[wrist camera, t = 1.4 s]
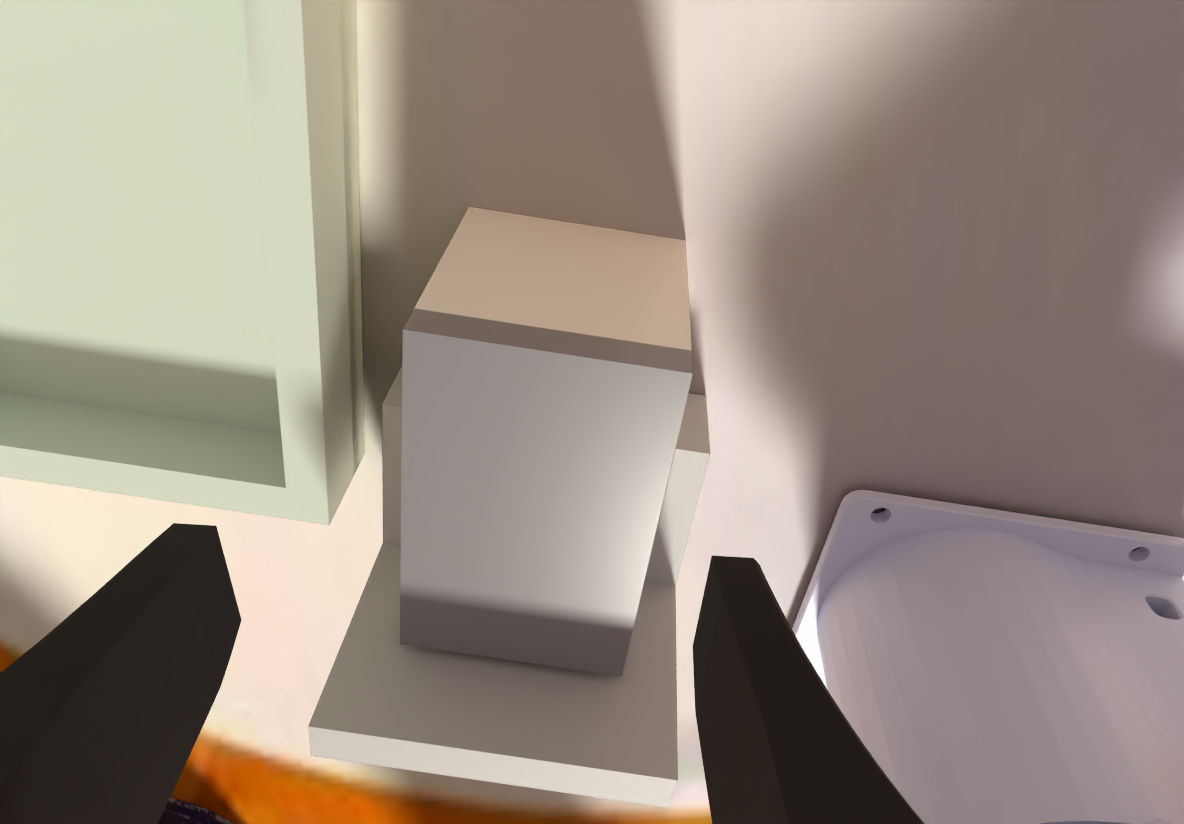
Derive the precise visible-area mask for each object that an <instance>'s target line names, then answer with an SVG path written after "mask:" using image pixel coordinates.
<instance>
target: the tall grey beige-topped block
mask: <svg viewBox="0 0 1184 824" xmlns="http://www.w3.org/2000/svg"><path fill="white" fill-rule="evenodd" d="M692 375H693V366H692V347H691V328H690V309H689V290H688V271H687V252H686V240H680V239H674V238H667V237H661V236H654V235H648V234H641V233H635V232H628V231H622V230H615V229H609V228H603V227H596V226H590V225H583V224H577V223H570V222H564V221H557V220H551V219H544V218H538V217H531V216H525V215H518V214H512V213H506V212H499V211H493V210H486V209H480V208H473V207H469V208H468V210H467V212H466V213H465V215H464V217H463V219H462V221H461V223H460V224H459V226H458V228H457V230H456V232H455V234H454V236H453V237H452V239H451V241H450V243H449V245H448V247H447V249H446V250H445V252H444V254H443V256H442V258H441V260H440V261H439V263H438V265H437V267H436V269H435V271H434V273H433V274H432V276H431V278H430V280H429V282H428V284H427V286H426V287H425V289H424V291H423V293H422V295H421V297H420V298H419V300H418V302H417V304H416V306H415V308H414V310H413V311H412V313H411V315H410V317H409V319H408V321H407V323H406V324H405V326H404V328H403V348H402V454H401V560H400V644H403V645H410V646H417V647H424V648H431V649H437V650H444V651H451V652H458V653H465V654H471V655H478V656H485V657H492V658H499V659H506V660H512V661H519V662H526V663H533V664H540V665H547V666H553V667H560V668H567V669H574V670H581V671H588V672H594V673H601V674H608V675H615V676H622V674H623V670H624V666H625V661H626V657H627V653H628V649H629V644H630V640H631V636H632V632H633V627H634V623H635V619H636V614H637V610H638V606H639V602H640V597H641V593H642V589H643V585H644V580H645V576H646V572H647V567H648V563H649V559H650V555H651V550H652V546H653V542H654V538H655V533H656V529H657V525H658V520H659V516H660V512H661V508H662V503H663V499H664V495H665V491H666V486H667V482H668V478H669V474H670V469H671V465H672V461H673V456H674V452H675V448H676V444H677V439H678V435H679V431H680V427H681V422H682V418H683V414H684V409H685V405H686V401H687V397H688V392H689V388H690V384H691V380H692Z"/></svg>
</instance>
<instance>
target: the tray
mask: <svg viewBox="0 0 1184 824" xmlns="http://www.w3.org/2000/svg"><path fill="white" fill-rule="evenodd" d="M364 454H365V441H364V392H363V344H362V295H361V246H360V198H359V149H358V100H357V51H356V3H355V0H0V476H2V477H9V478H15V479H22V480H29V481H35V482H42V483H49V484H55V485H62V486H69V487H76V488H82V489H89V490H96V491H102V492H109V493H116V494H122V495H129V496H136V497H143V498H149V499H156V500H163V501H169V502H176V503H183V504H189V505H196V506H203V507H210V508H216V509H223V510H230V511H236V512H243V513H250V514H256V515H263V516H270V517H277V518H283V519H290V520H297V521H303V522H310V523H317V524H323V525H329V524H330V522H331V520H332V518H333V516H334V514H335V512H336V510H337V508H338V506H339V504H340V502H341V500H342V498H343V496H344V494H345V492H346V490H347V488H348V486H349V484H350V482H351V480H352V478H353V476H354V474H355V472H356V470H357V468H358V466H359V464H360V462H361V460H362V458H363V456H364Z"/></svg>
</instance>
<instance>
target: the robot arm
mask: <svg viewBox="0 0 1184 824" xmlns="http://www.w3.org/2000/svg"><path fill="white" fill-rule="evenodd" d="M878 508H886V510H885V511H883V512H881V513H872V512H873V511H874V510H875V509H878ZM1138 547H1140V548H1139V549H1137V550H1135V551H1132V550H1133V549H1135V548H1138ZM1183 575H1184V539H1183V538H1180V537H1174V536H1167V535H1161V534H1154V533H1147V532H1141V531H1134V530H1128V529H1121V528H1114V527H1108V526H1101V525H1094V524H1088V523H1081V522H1075V521H1068V520H1061V519H1055V518H1048V517H1042V516H1035V515H1028V514H1022V513H1015V512H1008V511H1002V510H995V509H989V508H982V507H975V506H969V505H962V504H955V503H949V502H942V501H936V500H929V499H922V498H916V497H909V496H903V495H896V494H889V493H883V492H876V491H869V490H856V491H853V492H850V493H849V494H847V495H846V496H845V497H844V498H843V500H842V501H841V504H840V506H839V509H838V512H837V514H836V517H835V519H834V522H833V524H832V527H831V530H830V532H829V535H828V537H827V540H826V543H825V545H824V548H823V550H822V553H821V556H820V558H819V561H818V563H817V566H816V568H815V571H814V574H813V576H812V579H811V581H810V584H809V587H808V589H807V592H806V594H805V597H804V599H803V602H802V605H801V607H800V610H799V612H798V615H797V618H796V620H795V623H794V625H793V628H791V627H790V625H789V623H788V621H787V619H786V617H785V616H784V614H783V612H782V610H781V608H780V606H779V604H778V602H777V600H776V598H775V596H774V594H773V592H772V590H771V588H770V586H769V584H768V582H767V580H766V578H765V576H764V574H763V572H762V569H761V567H760V565H759V564H758V563H757V561H756V560H755V559H754V558H742V557H725V556H712V558H711V563H710V568H709V572H708V577H707V582H706V586H705V591H704V596H703V601H702V605H701V610H700V615H699V620H698V624H697V629H696V634H695V639H694V643H693V662H694V688H695V709H696V718H697V725H698V732H699V739H700V745H701V752H702V759H703V766H704V772H705V779H706V785H707V792H708V798H709V804H710V811H711V817H712V824H1184V581H1183V580H1182V576H1183ZM240 623H241V617H240V613H239V610H238V606H237V602H236V598H235V595H234V591H233V587H232V583H231V580H230V576H229V572H228V569H227V565H226V561H225V557H224V554H223V550H222V546H221V542H220V539H219V535H218V531H217V527H216V526H209V525H192V524H176V523H174V524H172V525H171V526H170V527H169V528H168V529H167V530H166V531H164V532H163V533H162V534H161V535H160V536H159V537H157V538H156V539H155V540H154V541H153V542H152V543H151V544H149V545H148V546H147V547H146V548H145V549H144V550H143V551H142V552H141V553H139V554H138V555H137V556H136V557H135V558H134V559H133V560H132V561H131V562H129V563H128V564H127V565H126V566H125V567H124V568H123V569H122V570H121V571H119V572H118V573H117V574H116V575H115V576H114V577H113V578H112V579H111V580H109V581H108V582H107V583H106V584H105V585H104V586H103V587H102V588H100V589H99V590H98V591H97V592H96V593H95V594H94V595H93V596H92V597H90V598H89V599H88V600H87V601H86V602H85V603H83V604H82V605H81V606H80V607H79V608H78V609H77V610H75V611H74V612H73V613H72V614H71V615H70V616H68V617H67V618H66V619H65V620H64V621H63V622H61V623H60V624H59V625H58V626H57V627H56V628H55V629H53V630H52V631H51V632H50V633H49V634H48V635H46V636H45V637H44V638H43V639H42V640H40V641H39V642H38V643H37V644H36V645H35V646H33V647H32V648H31V649H30V650H28V651H27V652H26V653H25V654H23V655H22V656H21V657H20V658H18V659H17V660H16V661H15V662H13V663H12V664H11V665H10V666H8V667H7V668H6V669H5V670H3V671H2V672H1V673H0V824H158V822H159V820H160V818H161V816H162V813H163V811H164V809H165V807H166V805H167V803H168V800H169V798H170V796H171V794H172V792H173V790H174V787H175V785H176V783H177V781H178V779H179V777H180V774H181V772H182V770H183V768H184V766H185V764H186V762H187V759H188V757H189V755H190V753H191V751H192V749H193V746H194V744H195V742H196V740H197V738H198V736H199V733H200V731H201V729H202V727H203V724H204V722H205V720H206V718H207V716H208V713H209V711H210V709H211V707H212V705H213V702H214V700H215V698H216V696H217V693H218V691H219V689H220V686H221V684H222V681H223V677H224V674H225V671H226V668H227V665H228V662H229V659H230V656H231V653H232V650H233V646H234V643H235V639H236V636H237V633H238V629H239V626H240Z"/></svg>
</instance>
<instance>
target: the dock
mask: <svg viewBox="0 0 1184 824" xmlns="http://www.w3.org/2000/svg"><path fill="white" fill-rule="evenodd" d="M382 453H383V544H382V546H381V549H380V551H379V554H378V556H377V559H376V561H375V564H374V566H373V569H372V571H371V573H370V576H369V578H368V581H367V583H366V586H365V588H364V591H363V593H362V596H361V598H360V601H359V603H358V605H357V608H356V610H355V613H354V615H353V618H352V620H351V623H350V625H349V628H348V630H347V633H346V635H345V637H344V640H343V642H342V645H341V647H340V650H339V652H338V655H337V657H336V660H335V662H334V665H333V667H332V669H331V672H330V674H329V677H328V679H327V682H326V684H325V687H324V689H323V692H322V694H321V697H320V699H319V701H318V704H317V706H316V709H315V711H314V714H313V716H312V719H311V721H310V724H309V726H308V729H309V740H310V752H311V756H315V757H322V758H329V759H336V760H343V761H350V762H357V763H363V764H370V765H377V766H384V767H391V768H398V769H405V770H412V771H418V772H425V773H432V774H439V775H446V776H453V777H460V778H467V779H473V780H480V781H487V782H494V783H501V784H508V785H515V786H521V787H528V788H535V789H542V790H549V791H556V792H563V793H570V794H576V795H583V796H590V797H597V798H604V799H611V800H618V801H625V802H631V803H638V804H645V805H652V806H659V807H666V808H669V806H670V803H671V800H672V796H673V793H674V790H675V787H676V784H677V781H678V765H677V682H676V599H675V586H676V582H677V578H678V574H679V570H680V567H681V563H682V559H683V555H684V551H685V548H686V544H687V540H688V536H689V533H690V529H691V525H692V521H693V517H694V514H695V510H696V506H697V502H698V498H699V495H700V491H701V487H702V483H703V479H704V476H705V472H706V468H707V464H708V460H709V457H710V444H709V430H708V416H707V402H706V396H705V395H698V394H692V393H688V397H687V401H686V405H685V409H684V414H683V418H682V422H681V427H680V431H679V435H678V439H677V444H676V448H675V452H674V456H673V461H672V465H671V469H670V474H669V478H668V482H667V486H666V491H665V495H664V499H663V503H662V508H661V512H660V516H659V520H658V525H657V529H656V533H655V538H654V542H653V546H652V550H651V555H650V559H649V563H648V567H647V572H646V576H645V580H644V585H643V589H642V593H641V597H640V602H639V606H638V610H637V614H636V619H635V623H634V627H633V632H632V636H631V640H630V644H629V649H628V653H627V657H626V661H625V666H624V670H623V674H622V676H615V675H608V674H601V673H594V672H588V671H581V670H574V669H567V668H560V667H553V666H547V665H540V664H533V663H526V662H519V661H512V660H506V659H499V658H492V657H485V656H478V655H471V654H465V653H458V652H451V651H444V650H437V649H431V648H424V647H417V646H410V645H403V644H400V560H401V454H402V366H401V368H400V370H399V372H398V374H397V376H396V378H395V380H394V382H393V384H392V386H391V388H390V390H389V392H388V394H387V396H386V398H385V400H384V402H383V404H382Z"/></svg>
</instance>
